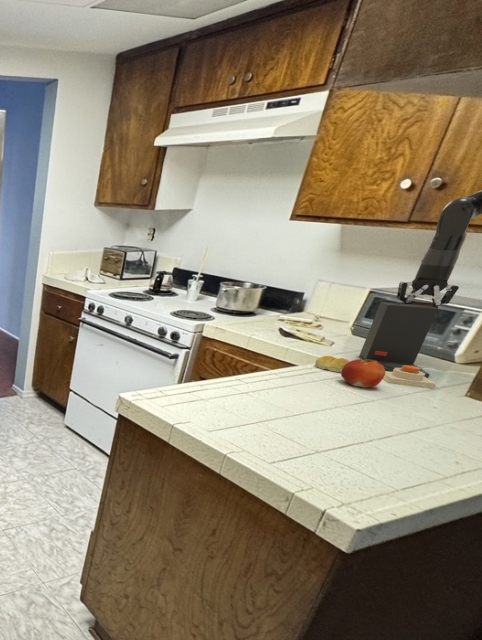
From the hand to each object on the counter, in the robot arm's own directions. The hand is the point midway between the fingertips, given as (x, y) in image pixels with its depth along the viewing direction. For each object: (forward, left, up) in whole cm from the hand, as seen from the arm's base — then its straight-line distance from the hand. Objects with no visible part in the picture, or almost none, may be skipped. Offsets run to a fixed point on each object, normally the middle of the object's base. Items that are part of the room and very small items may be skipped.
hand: (415, 314), depth 159 cm
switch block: (+8, +31, -16) cm, 36 cm away
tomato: (+22, +42, -16) cm, 50 cm away
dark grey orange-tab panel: (+6, +14, -16) cm, 22 cm away
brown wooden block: (0, 0, -7) cm, 7 cm away
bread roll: (+24, +26, -16) cm, 39 cm away
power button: (+8, +31, -13) cm, 34 cm away
